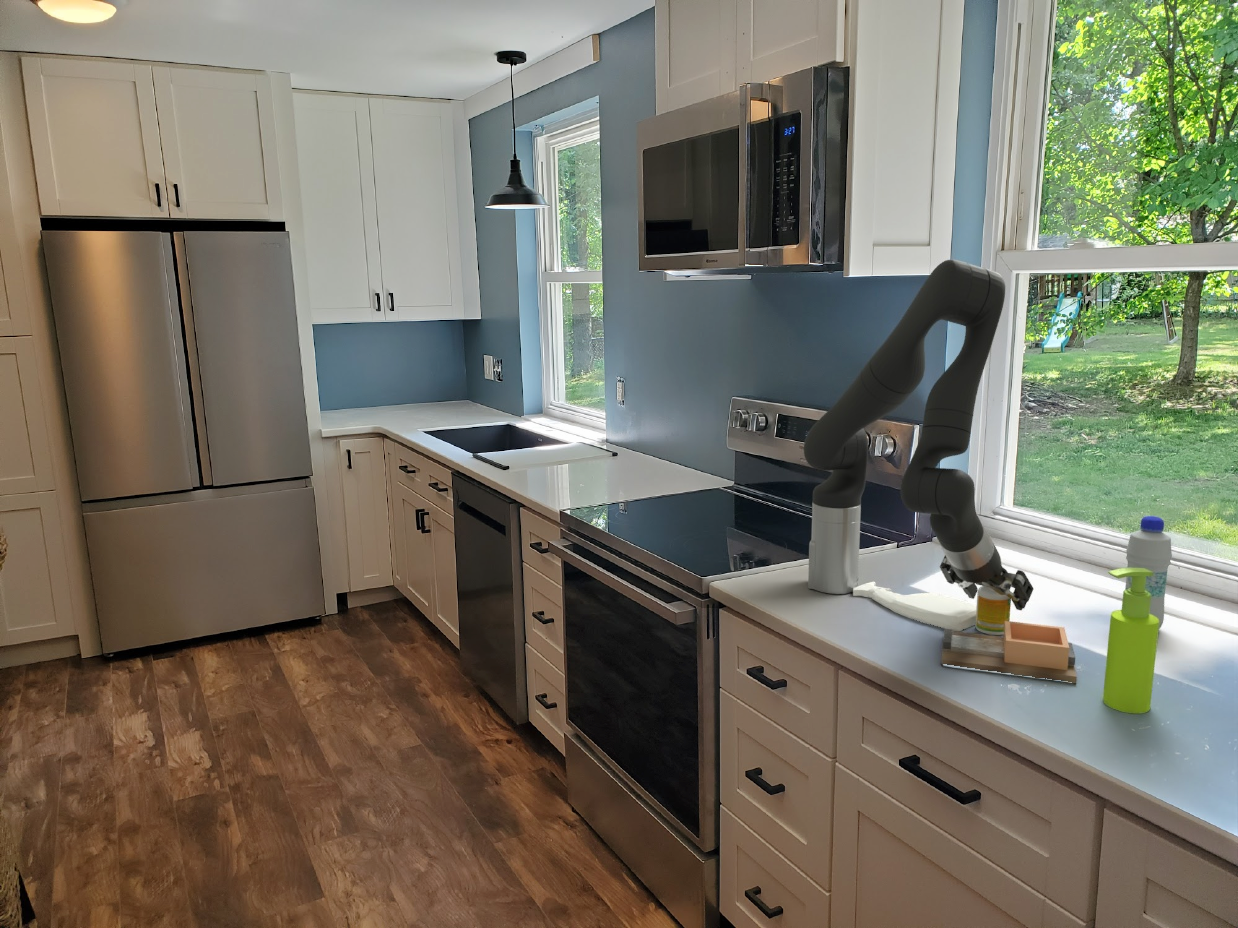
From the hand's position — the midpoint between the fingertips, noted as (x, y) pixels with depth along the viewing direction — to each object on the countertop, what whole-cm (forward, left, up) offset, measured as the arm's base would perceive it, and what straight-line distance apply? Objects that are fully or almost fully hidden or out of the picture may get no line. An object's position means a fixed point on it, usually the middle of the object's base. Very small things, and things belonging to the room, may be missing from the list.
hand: (997, 599), depth 155 cm
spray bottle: (-14, +6, -6) cm, 16 cm away
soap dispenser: (+16, -25, -5) cm, 31 cm away
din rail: (+1, -14, -4) cm, 14 cm away
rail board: (+1, -14, -5) cm, 15 cm away
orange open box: (+5, -14, -4) cm, 15 cm away
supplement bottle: (-1, -1, -5) cm, 6 cm away
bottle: (+23, +8, -5) cm, 25 cm away
